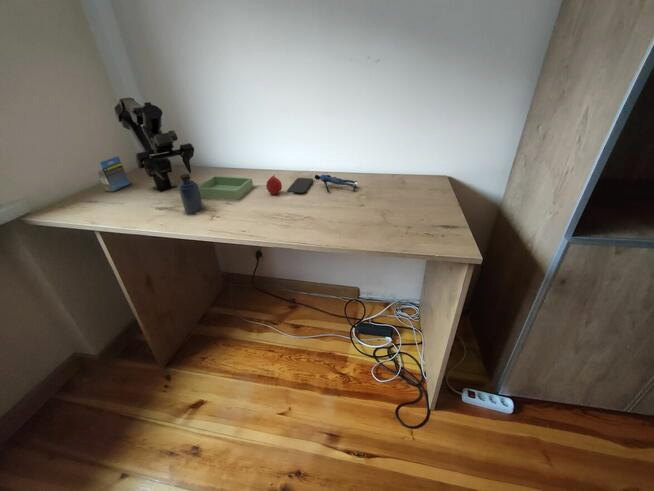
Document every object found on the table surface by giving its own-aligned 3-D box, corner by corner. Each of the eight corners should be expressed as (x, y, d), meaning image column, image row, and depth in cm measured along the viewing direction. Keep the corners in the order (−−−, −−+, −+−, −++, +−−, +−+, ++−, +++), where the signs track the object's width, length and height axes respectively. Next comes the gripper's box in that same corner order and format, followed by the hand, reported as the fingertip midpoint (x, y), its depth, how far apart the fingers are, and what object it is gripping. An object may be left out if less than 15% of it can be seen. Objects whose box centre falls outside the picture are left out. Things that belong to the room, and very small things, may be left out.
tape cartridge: (123, 183, 130) (111, 155, 123) (130, 184, 129) (119, 155, 122) (105, 191, 122) (92, 161, 116) (113, 192, 122) (99, 162, 115)
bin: (197, 197, 115) (195, 187, 113) (216, 185, 126) (214, 175, 123) (238, 201, 111) (236, 190, 109) (253, 188, 122) (251, 178, 120)
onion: (279, 198, 113) (277, 178, 108) (265, 197, 114) (262, 177, 109) (284, 192, 117) (282, 173, 113) (270, 191, 118) (268, 172, 114)
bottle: (185, 208, 107) (175, 173, 100) (204, 205, 108) (194, 171, 101) (185, 216, 102) (174, 180, 95) (204, 213, 103) (194, 177, 96)
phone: (286, 191, 116) (297, 177, 128) (286, 193, 117) (297, 179, 129) (304, 192, 115) (313, 178, 127) (304, 194, 115) (314, 180, 127)
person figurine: (358, 188, 124) (317, 179, 126) (360, 177, 121) (318, 169, 124) (354, 198, 115) (310, 188, 117) (356, 187, 112) (311, 178, 115)
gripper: (125, 127, 93) (148, 169, 92) (184, 119, 103) (206, 156, 103) (128, 148, 102) (149, 187, 101) (182, 138, 113) (202, 173, 112)
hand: (177, 175), depth 104 cm, fingers open, 9 cm apart
